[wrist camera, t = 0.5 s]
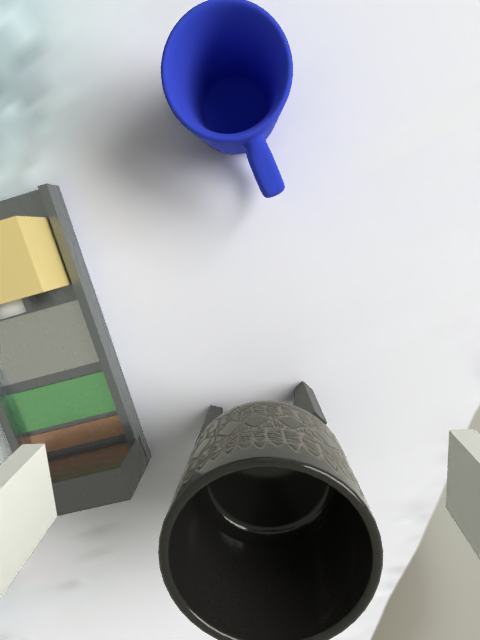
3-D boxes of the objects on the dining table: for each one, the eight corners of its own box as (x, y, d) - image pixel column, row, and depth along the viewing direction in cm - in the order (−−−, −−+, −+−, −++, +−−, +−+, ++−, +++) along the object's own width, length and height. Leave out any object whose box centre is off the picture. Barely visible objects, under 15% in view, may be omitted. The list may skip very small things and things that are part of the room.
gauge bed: (-63, 223, 40) (-81, 223, 37) (58, 186, 38) (46, 183, 36) (41, 482, 45) (30, 495, 42) (151, 456, 43) (145, 468, 41)
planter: (347, 467, 43) (406, 631, 25) (222, 497, 44) (196, 672, 27) (314, 345, 40) (354, 433, 23) (182, 380, 42) (126, 489, 24)
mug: (230, 222, 38) (219, 220, 29) (171, 87, 36) (137, 35, 27) (317, 182, 37) (336, 165, 28) (261, 41, 35) (260, -31, 26)
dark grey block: (25, 461, 43) (-12, 498, 37) (139, 434, 42) (119, 468, 36) (36, 488, 44) (1, 528, 38) (148, 462, 42) (130, 499, 37)
